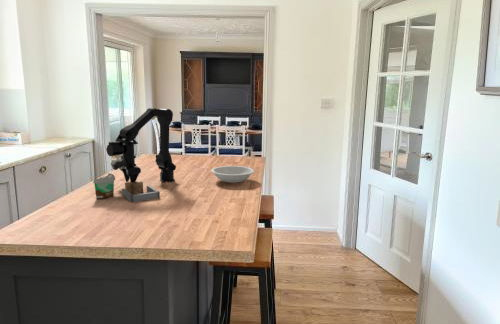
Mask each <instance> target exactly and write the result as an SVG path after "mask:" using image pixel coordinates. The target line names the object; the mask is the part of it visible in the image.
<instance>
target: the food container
mask: <svg viewBox="0 0 500 324" xmlns="http://www.w3.org/2000/svg"><path fill="white" fill-rule="evenodd" d="M115 181H116V176H115V175H114V174H113V173H111V172H110V173H107V175H105V176H101V177H99V178H93V184H94V190H95V191H94V192H95V198H96V200H108V199H112V198H113V197H114V196H115V195H114V191H115V190H114V189H115V188H114V187H115Z"/></svg>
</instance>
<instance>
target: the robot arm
mask: <svg viewBox="0 0 500 324" xmlns="http://www.w3.org/2000/svg"><path fill="white" fill-rule="evenodd" d="M155 117H156V120H157V122H158V123H159V152H158V153H156V154H155V164H156V166H157V167H158V170H160V172H159V177H160V179H159V180H160V181H162V182H164V183H167V182H174V181H176V179H175V175H174V174H175V173H174V171H176V168H177V166H176V165H175V163H174V162H173V160H172V155H171V153H170V126H171V124H172V122H173V117H174V113H173V111H172V110H171V109H170V108H159V109H158V108H155V107H149V108H147V109H146V111H144V112H143V113H142V114H141V115H140V116H139V117H138V118H137V119H136V120H135V121H133V123H131V124H128V125H126V126H124V127H122V128H121V129H120V131H119V134H118V135H117V137H116V139H115V140H114V141H108V144H107V146H106V154H107V155H108V156H109V157H113V156H114V157H115V156H120V158H119V159H117V160H115V161H112V162H110V166H111V168H112V170H114V171H117V170H120V171H121V172H122V174H123V177H124V180H125V183H127V182H135V181H137V179H138V177H139V175H140V174H141V173H142V169H141V168H140V167H139V166H138V165H137V163H136V159H137V158H136V157H137V156H136V154H135V145H138V144H139V142H137V140H135V139H136V138H137V137H138V135H139V133H140V131H141V130H142V128H143V127H144V126H145V125H147V124H148V123H149V122H150V121H151V120H152V119H154V118H155ZM135 158H136V159H135Z"/></svg>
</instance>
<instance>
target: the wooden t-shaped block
mask: <svg viewBox="0 0 500 324" xmlns="http://www.w3.org/2000/svg"><path fill="white" fill-rule="evenodd" d="M124 189H125V190H127V191H128V192H129V193H131V194H132V195H136V194H142V192H144V181H142V180H136V181H135V182H130V181H129V182H124Z"/></svg>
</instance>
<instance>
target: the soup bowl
mask: <svg viewBox="0 0 500 324" xmlns="http://www.w3.org/2000/svg"><path fill="white" fill-rule="evenodd" d="M211 173H213V174H214V175H215V177H216V179H219V180H220V181H221V182H224V183H232V184H233V183H242V182H245V181H246V180H248V179H249V178H250V177H251V175H252V174H254V173H255V170H254V169H253V168H251V167H248V166H242V165H224V166H216V167H213V168H212V169H211Z"/></svg>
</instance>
